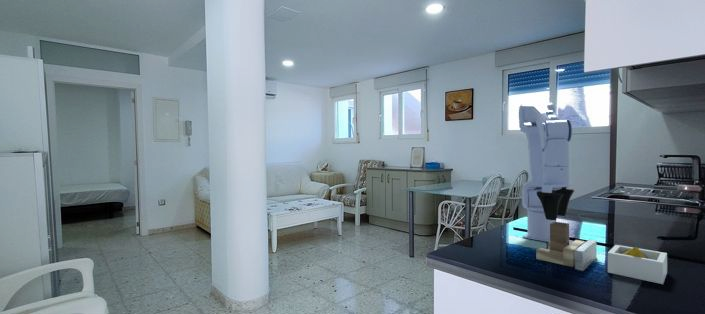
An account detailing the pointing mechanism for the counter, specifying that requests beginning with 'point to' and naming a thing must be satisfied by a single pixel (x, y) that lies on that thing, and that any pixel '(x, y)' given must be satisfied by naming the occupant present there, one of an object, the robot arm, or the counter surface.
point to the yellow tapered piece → (634, 253)
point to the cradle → (560, 254)
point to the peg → (559, 236)
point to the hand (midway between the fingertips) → (555, 217)
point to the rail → (585, 255)
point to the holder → (638, 264)
